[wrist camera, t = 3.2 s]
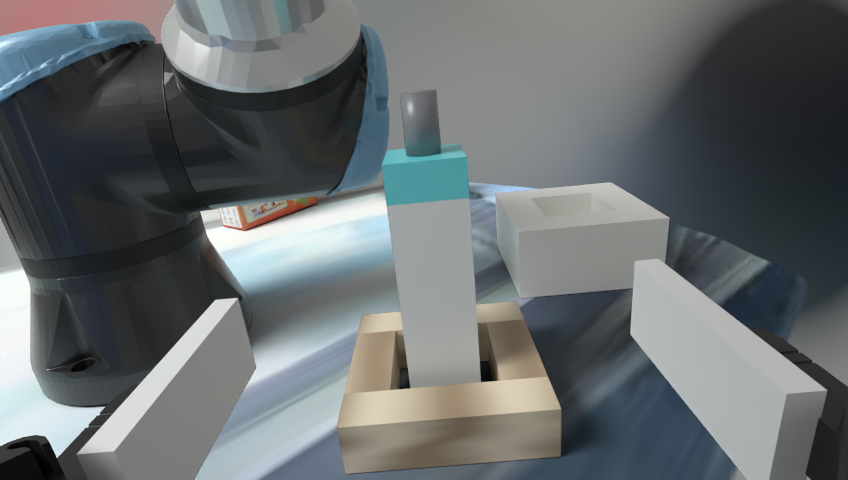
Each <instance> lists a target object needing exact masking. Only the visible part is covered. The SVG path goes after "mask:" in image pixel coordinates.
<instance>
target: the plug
mask: <svg viewBox="0 0 848 480" xmlns="http://www.w3.org/2000/svg"><path fill="white" fill-rule="evenodd" d="M400 104H401V113H402V122H403V131H404V141H405V149H397V150H387V152H386V155H385V157H384V160H383V163H382V171H383V179H384V188H385V195H386V203H387V211H388V219H389V226H390V234H391V242H392V250H393V257H394V265H395V273H396V281H397V288H398V296H399V304H400V312H401V320H402V327H403V335H404V343H405V351H406V358H407V366H408V374H409V382H410V388H420V387H432V386H444V385H455V384H467V383H479V382H481V374H480V358H479V342H478V326H477V310H476V295H475V279H474V263H473V247H472V231H471V215H470V200H469V184H468V169H467V156H466V154H465V153H464V150H463V149H462V147H461V145H460V143H459V144H449V145H441V142H440V130H439V117H438V105H437V94H436V90H421V91H411V92H404V93H400Z"/></svg>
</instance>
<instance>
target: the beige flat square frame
mask: <svg viewBox="0 0 848 480" xmlns="http://www.w3.org/2000/svg"><path fill="white" fill-rule="evenodd" d="M476 310H477V326H478V342H479V358H480V362H481V361H488V362H489V366H490V371H491V375H492V379H493V381H491V382H479V383H467V384H455V385H444V386H432V387H420V388H409V389H399V385H400V369H401V368H408V366H407V358H406V351H405V343H404V335H403V327H402V320H401V312H389V313H378V314H367V315H362V318H361V322H360V327H359V331H358V336H357V340H356V344H355V349H354V353H353V357H352V362H351V366H350V370H349V375H348V379H347V384H346V388H345V392H344V397H343V401H342V405H341V410H340V414H339V418H338V423H337V427H336V428H337V433H338V438H339V443H340V448H341V453H342V458H343V463H344V467H345V472H346V474H352V473H364V472H376V471H389V470H401V469H413V468H426V467H438V466H450V465H463V464H475V463H487V462H500V461H512V460H524V459H537V458H549V457H561V407H560V404H559V402H558V400H557V397H556V395H555V392H554V390H553V388H552V385H551V383H550V380H549V378H548V376H547V373H546V371H545V368H544V366H543V363H542V361H541V359H540V356H539V354H538V351H537V349H536V347H535V344H534V342H533V339H532V337H531V335H530V332H529V330H528V327H527V325H526V323H525V320H524V318H523V315H522V313H521V310H520V308H519V306H518V303H517V301H512V302H501V303H490V304H479V305H476Z"/></svg>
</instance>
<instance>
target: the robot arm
mask: <svg viewBox="0 0 848 480" xmlns="http://www.w3.org/2000/svg"><path fill="white" fill-rule="evenodd" d="M173 1H174V5H173V6H172V8H171V9H170V11H169V13H168V14H167V16H166V18H165V20H164V23H163V25H162V30H161V44H156V40H155V37H154V36H153V35H151V33H150V31H149V30H148V29H147V27H145V26H144V25H143V24H140V23H137V22H133V21H116V20H115V21H114V20H110V21H96V22H89V23H85V24H76V25H73V24H63V25H56V26H50V27H43V28H38V29H32V30H27V31H22V32H17V33H13V34H8V35H4V36H0V217H1V219H2V222H3V224H4V226H5V228H6V230H7V233H8V235H9V237H10V239H11V241H12V244H13V246H14V248H15V251H16V253H17V255H18V257H19V259H20V261H21V263H22V266H23V268H24V270H25V273H26V275H27V278H28V280H29V283H30V288H31V327H30V361H31V366H32V369H33V372H34V374H35V376H36V378H37V380H38V382H39V384H40V387H41V389H42V391H43V393H44V394H45V396H47V397H48V398H49V399H51V400H52V401H55V402H57V403H61V404H66V405H74V406H91V405H102V404H108V405H107V406H106V407H105V408H104V409H103V410H102V411H101V412H100V416H96V418H95V419H94V420H93V421H92V422H91V423H90V424H89V427H88V428H85V429H84V430H83V431H82V432H81V434H80V435H79V436H78V437H77V438H76V439H75V440H74V441H73V442H72V443H71V444H70V445H69V446H68V447H67V448H66V449H65V451H64V452H63V453H62V454H61V455H60V456H59V457H58V458H56V455H55V453H54V451H53V449H52V447H51V445H50V443H49V441H48V440H47V438H46V437H44V436H38V435H34V436H28V437H23V438H20V439H17V440H14V441H11V442H8V443H6V444H4V445H2V446H0V480H194V479H195V477H196V475H197V474H198V472H199V470H200V468H201V466H202V465H203V463H204V461H205V459H206V457H207V456H208V454H209V452H210V450H211V448H212V447H213V445H214V443H215V441H216V439H217V438H218V436H219V434H220V432H221V430H222V429H223V427H224V425H225V423H226V421H227V419H228V418H229V416H230V414H231V412H232V410H233V409H234V407H235V405H236V403H237V401H238V400H239V398H240V396H241V394H242V392H243V391H244V389H245V387H246V385H247V383H248V382H249V380H250V378H251V376H252V374H253V373H254V371H255V369H256V364H255V361H254V357H253V353H252V349H251V345H250V342H249V338H248V334H247V333H248V331H249V329H250V326H251V323H252V315H251V311H250V307H249V303H248V300H247V296H246V294H245V291H244V289H243V288H242V286H241V285H240V284H239V282H238V281H237V279H236V278H235V276H234V275H233V274H232V272H231V271H230V269H229V268H228V266H227V265H226V264H225V262H224V261H223V259H222V258H221V256H220V255H219V254H218V252H217V251H216V249H215V248H214V246H213V245H212V244H211V242H210V241H209V239H208V237H207V234H206V231H205V227H204V224H203V220H202V217H201V213H200V211H205V210H212V209H219V208H227V207H235V206H243V205H251V204H259V203H267V202H275V201H283V200H291V199H299V198H307V197H314V196H322V195H327V196H330V195H334V194H336V193H338V192H339V191H344V190H349V189H354V188H359V187H363V186H366V185H369V184H370V183H372V182H373V181H374V180H375V179H376V178H377V177H378V176H379V174H380V172H381V170H382V163H383V160H384V157H385V155H386V152H387V146H388V136H389V109H388V106H387V102H388V74H387V67H386V59H385V55H384V50H383V46H382V43H381V40H380V37H379V35H378V33H377V32H376V31H375V30H374V29H373V28H371V27H369V26H364V25H361V24H360V19H359V15H358V11H357V9H356V7H355V5H354V4H353V2H352V1H351V0H173ZM630 334H631V336H632V337H633V338H634V339H635V341H636V342H637V343H638V344H639V346H640V347H641V348H642V349H643V351H644V352H645V353H646V354H647V356H648V357H649V358H650V359H651V361H652V362H653V363H654V364H655V366H656V367H657V368H658V369H659V371H660V372H661V373H662V374H663V375H664V377H665V378H666V379H667V380H668V382H669V383H670V384H671V385H672V387H673V388H674V389H675V390H676V392H677V393H678V394H679V395H680V397H681V398H682V399H683V400H684V402H685V403H686V404H687V405H688V407H689V408H690V409H691V410H692V412H693V413H694V414H695V415H696V417H697V418H698V419H699V420H700V421H701V423H702V424H703V425H704V426H705V428H706V429H707V430H708V431H709V433H710V434H711V435H712V436H713V438H714V439H715V440H716V441H717V443H718V444H719V445H720V446H721V448H722V449H723V450H724V451H725V453H726V454H727V455H728V456H729V458H730V459H731V460H732V461H733V462H734V464H735V465H736V466H737V467H738V469H739V470H740V471H741V472H742V474H743V475H744V476H745V477H746V479H747V480H806V477H807V476H808V477H809V478H810V479H811V480H848V387H847V386H846V385H844V384H843V383H842V382H840V381H839V380H838V379H836V378H835V377H834V376H832V375H831V374H830V373H828V372H827V371H826V370H824V369H823V368H821V367H820V366H819V365H817V364H816V363H812V360H811V359H809V358H808V357H807V356H805V355H804V354H802V353H799V352H798V350H797V349H796V348H794V347H793V346H792V345H790V344H789V343H787V342H786V341H785V340H783V339H782V338H780V337H778V336H776V335H773V334H771V333H769V332H767V331H764V330H762V329H760V328H755V329H748V328H747V327H746V326H744V325H743V324H742V323H740V322H739V321H738V320H737V319H735V318H734V317H733V316H731V315H730V314H729V313H728V312H726V311H725V310H724V309H722V308H721V307H720V306H719V305H717V304H716V303H715V302H713V301H712V300H711V299H710V298H708V297H707V296H706V295H704V294H703V293H702V292H701V291H699V290H698V289H697V288H695V287H694V286H693V285H692V284H690V283H689V282H688V281H686V280H685V279H684V278H683V277H681V276H680V275H679V274H678V273H676V272H675V271H674V270H672V269H671V268H670V267H669V266H667V265H666V264H665V263H663V262H662V261H661V260H660V259H649V260H639V261H635V265H634V281H633V298H632V314H631V330H630Z"/></svg>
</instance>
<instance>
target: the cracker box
mask: <svg viewBox="0 0 848 480" xmlns="http://www.w3.org/2000/svg"><path fill="white" fill-rule="evenodd" d="M317 202H318V201H317V196H314V197H307V198H299V199H291V200H283V201H275V202H267V203H259V204H251V205H243V206H235V207H227V208H219V209H218V210H219V213H220V216H221V220H222V223H223V226H226V227H231V228H236V229H241V230H247V229H250V228H252V227H255V226H257V225H260V224H263V223H265V222H268V221H271V220H273V219H276V218H278V217H281V216H284V215H286V214H289V213H292V212H294V211H297V210H300V209H302V208H305V207H308V206H311V205H313V204H316V203H317Z"/></svg>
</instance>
